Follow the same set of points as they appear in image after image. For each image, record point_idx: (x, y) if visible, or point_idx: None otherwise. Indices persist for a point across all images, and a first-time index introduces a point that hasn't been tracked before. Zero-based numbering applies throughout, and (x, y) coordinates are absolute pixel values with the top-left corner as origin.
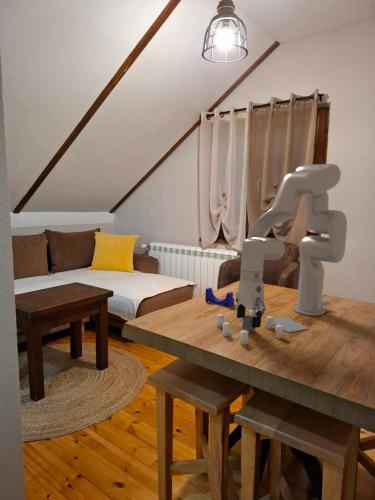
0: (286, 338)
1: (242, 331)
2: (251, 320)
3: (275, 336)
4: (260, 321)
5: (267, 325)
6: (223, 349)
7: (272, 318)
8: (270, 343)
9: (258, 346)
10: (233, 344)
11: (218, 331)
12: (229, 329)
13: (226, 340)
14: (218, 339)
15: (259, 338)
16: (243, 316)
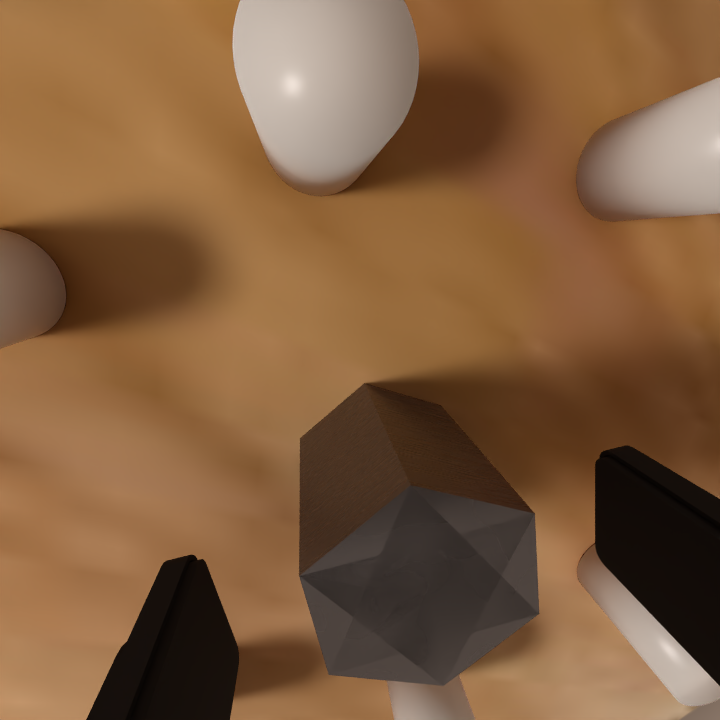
0: (677, 84)
1: (701, 688)
2: (537, 583)
3: (619, 220)
4: (705, 499)
5: (344, 183)
6: (635, 693)
7: (411, 44)
8: (698, 345)
9: (698, 470)
10: (595, 631)
11: (335, 701)
12: (469, 707)
13: (518, 665)
14: (486, 709)
15: (570, 407)
16: (347, 668)
